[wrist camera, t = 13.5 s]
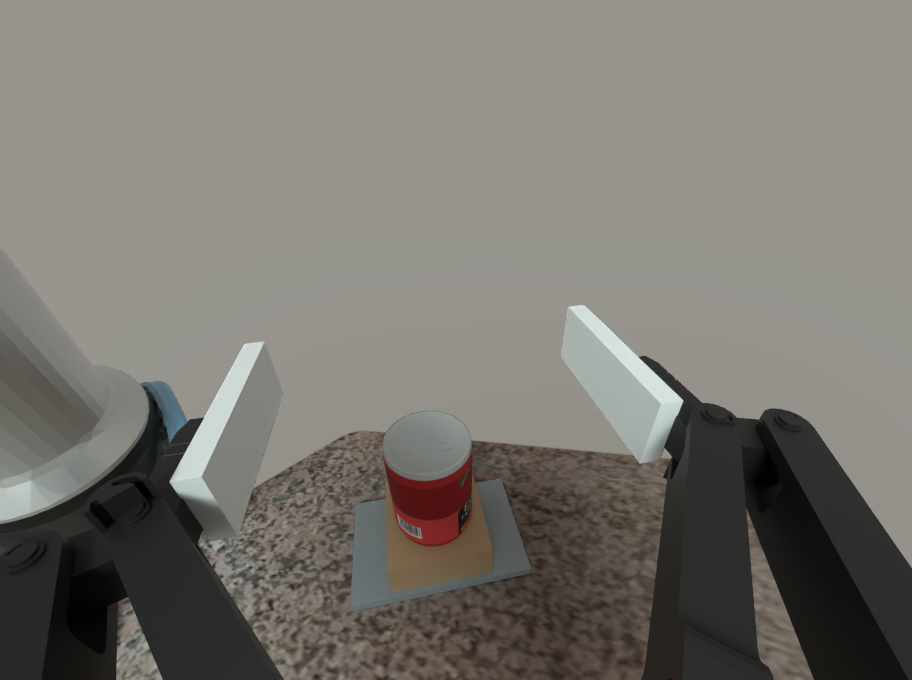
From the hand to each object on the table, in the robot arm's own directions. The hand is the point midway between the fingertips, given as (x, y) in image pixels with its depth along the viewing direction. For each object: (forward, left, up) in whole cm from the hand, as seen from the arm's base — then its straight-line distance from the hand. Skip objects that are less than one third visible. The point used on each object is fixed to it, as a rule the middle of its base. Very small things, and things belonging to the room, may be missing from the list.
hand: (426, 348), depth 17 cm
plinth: (0, +10, -32) cm, 33 cm away
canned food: (0, +10, -27) cm, 29 cm away
